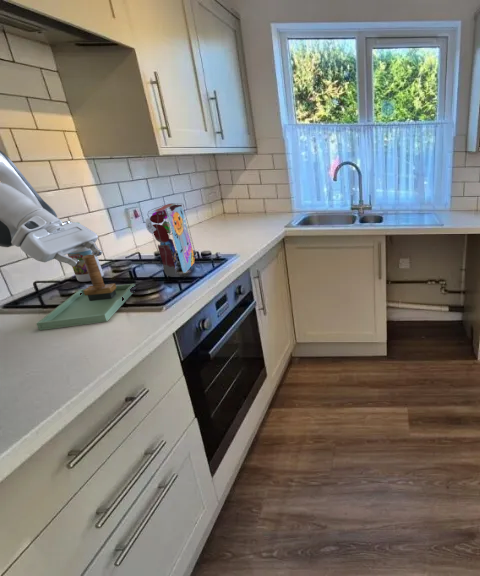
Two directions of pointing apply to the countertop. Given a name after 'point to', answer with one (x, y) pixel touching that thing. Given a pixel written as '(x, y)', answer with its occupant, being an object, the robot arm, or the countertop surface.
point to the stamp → (97, 282)
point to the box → (167, 244)
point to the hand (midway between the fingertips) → (88, 259)
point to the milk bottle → (83, 264)
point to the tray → (85, 309)
